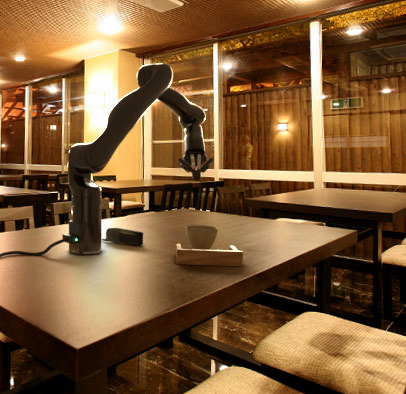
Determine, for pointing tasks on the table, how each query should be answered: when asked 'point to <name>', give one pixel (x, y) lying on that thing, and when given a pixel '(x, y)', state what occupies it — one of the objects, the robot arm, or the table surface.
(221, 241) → the table surface
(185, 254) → the low wooden tray
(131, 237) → the black rounded block
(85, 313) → the table surface
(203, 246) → the flower pot
